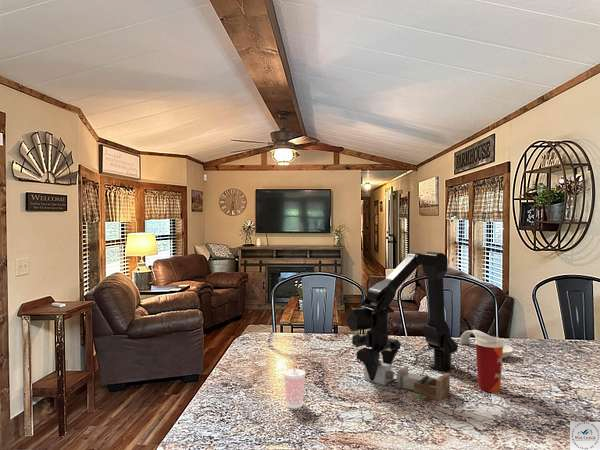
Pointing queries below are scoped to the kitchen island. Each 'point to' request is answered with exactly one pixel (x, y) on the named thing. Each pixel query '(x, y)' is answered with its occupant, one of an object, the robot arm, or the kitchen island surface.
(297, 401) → the beverage cup
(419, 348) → the kitchen island surface
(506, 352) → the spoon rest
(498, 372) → the coffee cup
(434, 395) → the housing
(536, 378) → the kitchen island surface
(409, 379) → the metal-capped square post
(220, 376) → the kitchen island surface
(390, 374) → the block with dome knob
